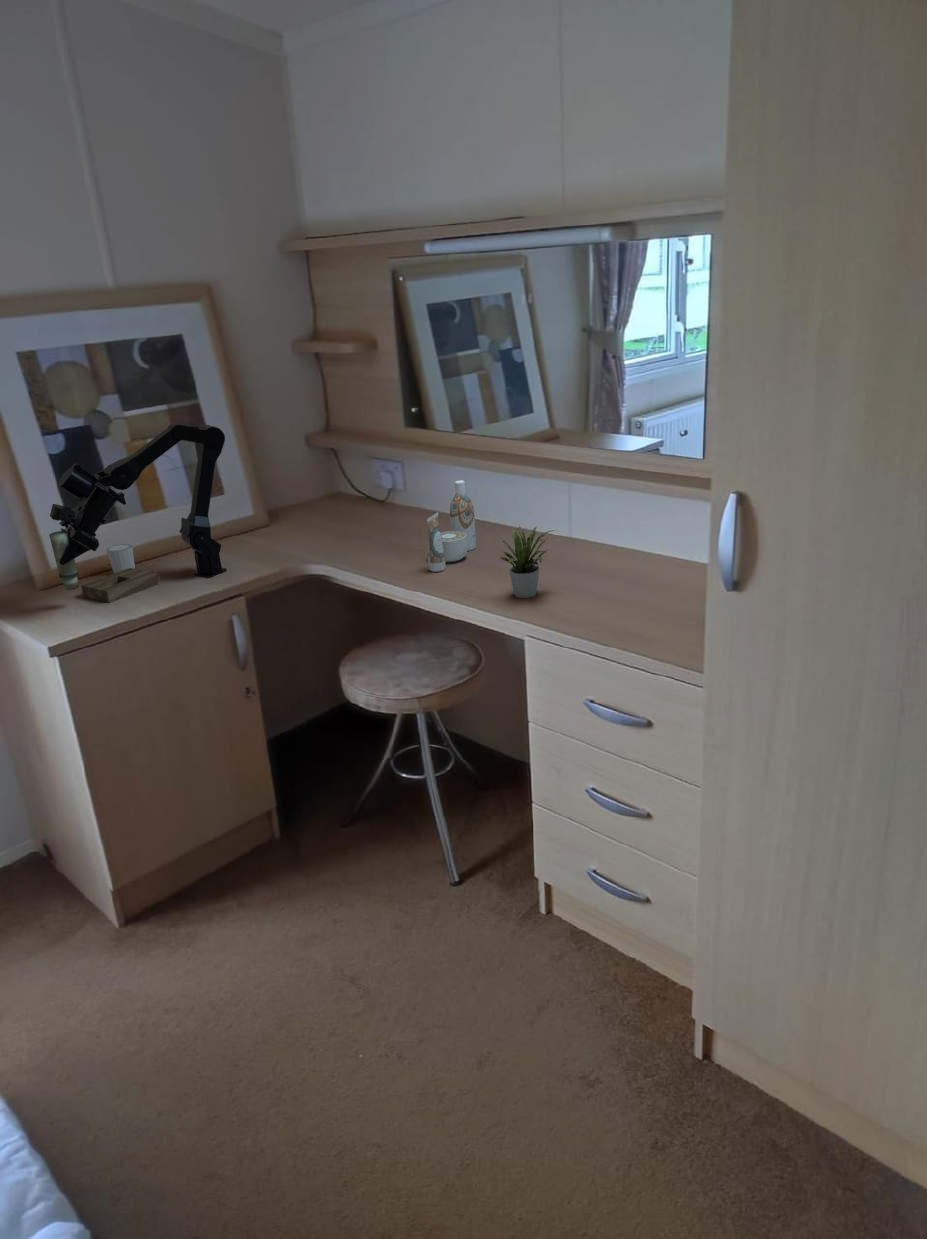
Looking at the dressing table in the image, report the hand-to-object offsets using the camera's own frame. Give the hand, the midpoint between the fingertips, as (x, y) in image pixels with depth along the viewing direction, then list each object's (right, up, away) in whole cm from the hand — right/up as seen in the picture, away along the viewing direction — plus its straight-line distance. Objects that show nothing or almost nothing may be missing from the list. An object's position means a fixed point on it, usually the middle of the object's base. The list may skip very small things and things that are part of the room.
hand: (59, 562), depth 217 cm
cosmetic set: (+96, +2, +19) cm, 98 cm away
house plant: (+115, -8, -10) cm, 115 cm away
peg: (+2, -6, +3) cm, 7 cm away
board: (+10, -6, +14) cm, 18 cm away
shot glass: (+5, -1, +29) cm, 29 cm away
